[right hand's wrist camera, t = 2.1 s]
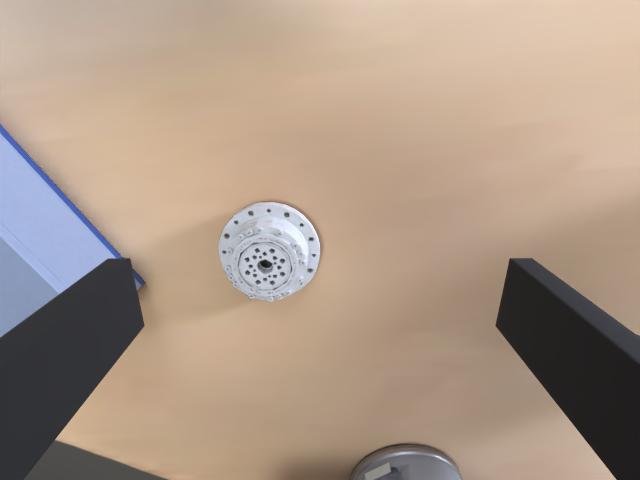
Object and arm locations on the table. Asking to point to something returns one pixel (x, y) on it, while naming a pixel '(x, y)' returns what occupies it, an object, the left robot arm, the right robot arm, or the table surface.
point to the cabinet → (40, 238)
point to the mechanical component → (269, 251)
